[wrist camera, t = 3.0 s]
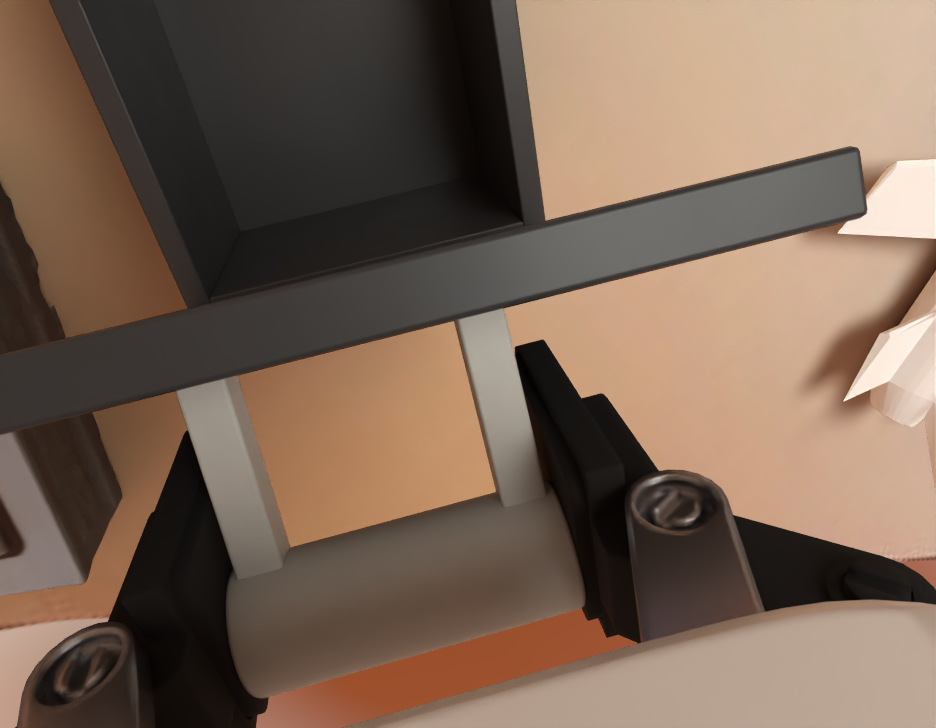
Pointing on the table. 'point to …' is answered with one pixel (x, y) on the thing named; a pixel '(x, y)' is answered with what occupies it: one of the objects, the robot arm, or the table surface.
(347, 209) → the dark grey box
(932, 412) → the airplane model
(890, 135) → the table surface
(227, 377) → the door
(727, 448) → the table surface
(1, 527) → the bible
